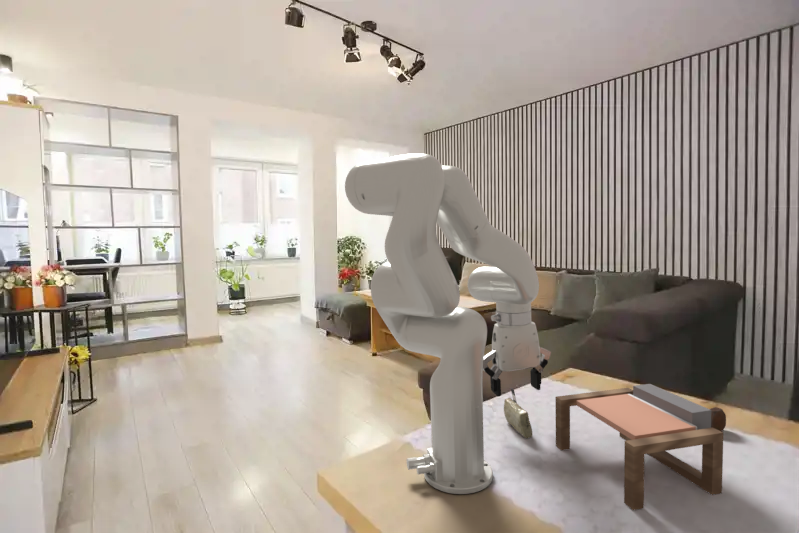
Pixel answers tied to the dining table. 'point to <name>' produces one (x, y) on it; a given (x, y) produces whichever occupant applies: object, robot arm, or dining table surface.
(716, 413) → the bolt
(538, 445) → the dining table surface
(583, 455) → the dining table surface
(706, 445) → the frame
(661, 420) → the trapdoor
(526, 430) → the cuneiform tablet
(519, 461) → the dining table surface
